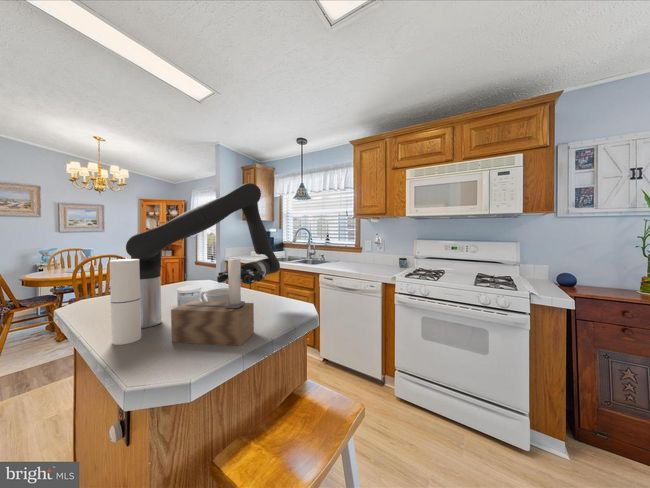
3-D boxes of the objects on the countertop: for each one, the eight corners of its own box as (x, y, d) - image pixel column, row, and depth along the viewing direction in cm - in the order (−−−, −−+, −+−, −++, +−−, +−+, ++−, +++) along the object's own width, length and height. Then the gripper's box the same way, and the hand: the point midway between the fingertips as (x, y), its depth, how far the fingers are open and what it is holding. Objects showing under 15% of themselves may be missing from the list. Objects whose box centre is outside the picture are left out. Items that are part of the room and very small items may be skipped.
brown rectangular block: (171, 342, 76) (171, 309, 76) (192, 329, 86) (191, 300, 86) (240, 345, 74) (240, 311, 73) (253, 332, 84) (253, 302, 83)
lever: (224, 307, 76) (223, 259, 76) (232, 303, 81) (231, 258, 81) (237, 308, 76) (237, 260, 75) (244, 303, 81) (244, 258, 80)
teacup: (210, 310, 108) (209, 287, 107) (242, 311, 106) (242, 288, 105) (191, 319, 96) (191, 294, 95) (227, 321, 94) (227, 295, 93)
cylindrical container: (117, 346, 73) (115, 261, 72) (108, 341, 76) (105, 260, 75) (145, 338, 79) (143, 259, 78) (135, 333, 82) (133, 258, 82)
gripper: (234, 261, 93) (209, 267, 77) (271, 262, 92) (254, 268, 76) (234, 281, 93) (210, 291, 77) (271, 282, 92) (254, 292, 76)
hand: (232, 279), depth 76 cm, fingers open, 8 cm apart
